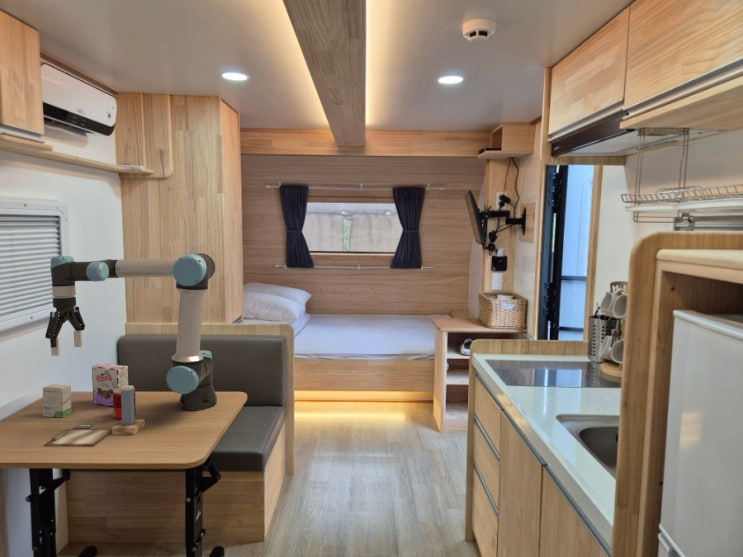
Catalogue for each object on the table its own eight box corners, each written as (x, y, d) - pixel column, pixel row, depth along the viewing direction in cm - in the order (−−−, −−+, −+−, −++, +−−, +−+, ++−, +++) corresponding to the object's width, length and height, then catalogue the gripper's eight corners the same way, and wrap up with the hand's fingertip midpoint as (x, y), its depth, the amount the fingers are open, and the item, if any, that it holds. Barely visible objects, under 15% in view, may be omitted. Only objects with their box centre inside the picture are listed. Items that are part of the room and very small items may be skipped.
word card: (95, 424, 179) (95, 423, 179) (89, 428, 175) (89, 427, 175) (79, 424, 179) (79, 423, 178) (73, 428, 175) (73, 427, 174)
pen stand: (144, 425, 178) (144, 419, 178) (134, 434, 170) (134, 428, 170) (123, 425, 178) (123, 419, 177) (112, 434, 170) (111, 427, 170)
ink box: (42, 417, 185) (41, 387, 184) (52, 412, 190) (51, 383, 189) (63, 418, 184) (61, 388, 183) (72, 413, 189) (71, 384, 188)
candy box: (92, 404, 200) (90, 366, 198) (103, 399, 205) (102, 362, 204) (118, 407, 196) (117, 369, 194) (129, 403, 201) (128, 365, 200)
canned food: (127, 421, 182) (126, 393, 181) (109, 419, 184) (107, 391, 183) (140, 413, 190) (139, 387, 189) (123, 412, 191) (122, 385, 190)
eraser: (135, 428, 175) (133, 385, 173) (131, 431, 173) (130, 387, 171) (125, 428, 175) (124, 385, 173) (122, 431, 173) (120, 387, 171)
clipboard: (114, 430, 173) (114, 427, 173) (94, 446, 160) (93, 443, 160) (67, 430, 173) (67, 427, 173) (43, 446, 160) (43, 442, 160)
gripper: (74, 292, 193) (77, 343, 195) (31, 301, 169) (34, 359, 170) (93, 292, 193) (95, 343, 195) (52, 301, 169) (55, 359, 170)
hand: (67, 351), depth 183 cm, fingers open, 13 cm apart
